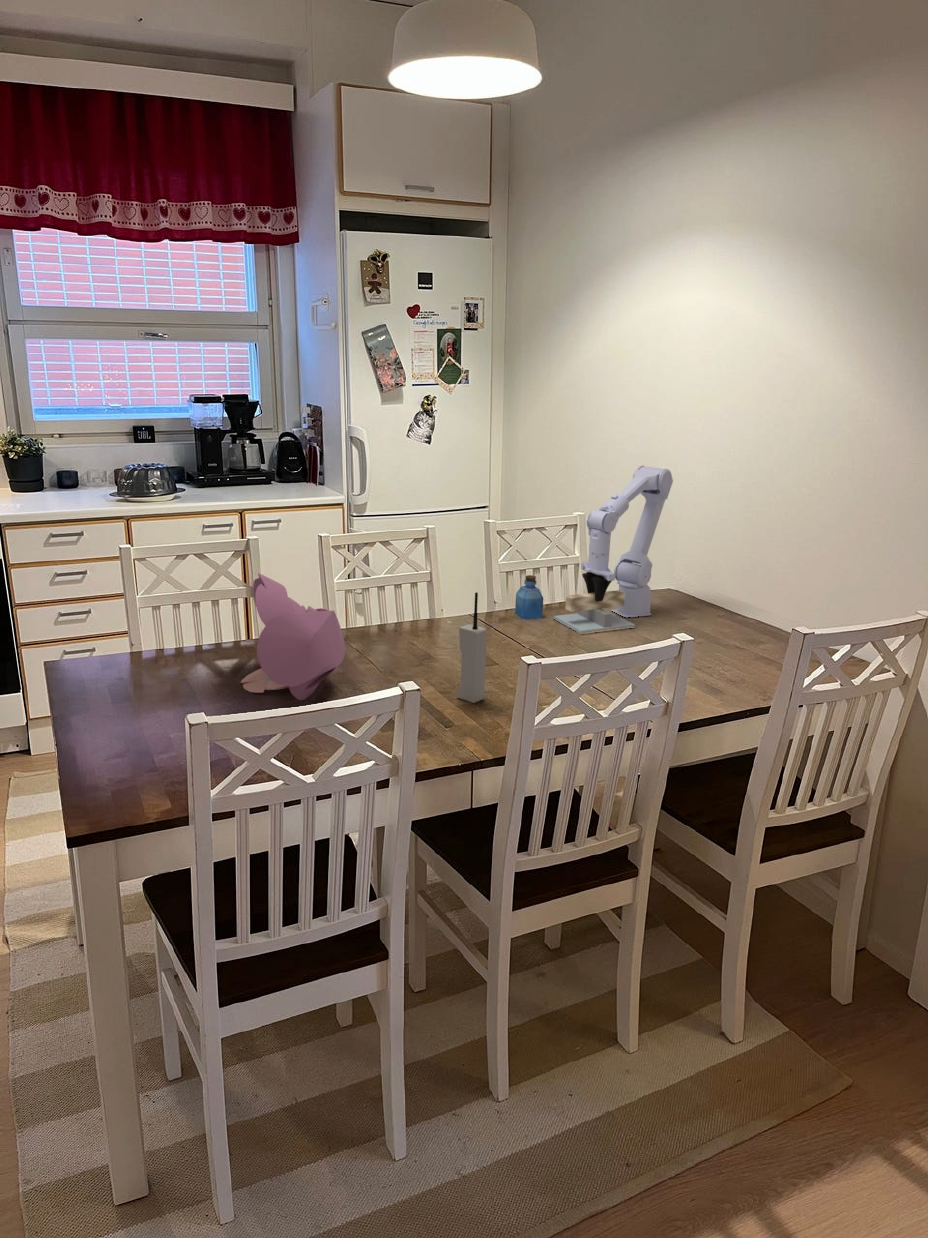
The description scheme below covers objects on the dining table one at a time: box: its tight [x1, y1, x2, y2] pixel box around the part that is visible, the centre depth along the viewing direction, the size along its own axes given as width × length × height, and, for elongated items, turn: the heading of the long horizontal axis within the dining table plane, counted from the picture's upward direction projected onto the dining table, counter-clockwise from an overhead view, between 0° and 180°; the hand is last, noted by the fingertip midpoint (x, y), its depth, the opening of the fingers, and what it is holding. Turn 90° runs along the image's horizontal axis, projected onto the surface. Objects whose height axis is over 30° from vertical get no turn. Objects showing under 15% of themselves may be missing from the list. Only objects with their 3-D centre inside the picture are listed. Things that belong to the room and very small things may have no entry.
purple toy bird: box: [240, 572, 346, 701], centre depth 210 cm, size 35×24×28 cm
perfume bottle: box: [514, 574, 544, 620], centre depth 270 cm, size 6×6×12 cm
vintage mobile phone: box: [456, 592, 488, 704], centre depth 204 cm, size 4×5×25 cm
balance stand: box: [553, 608, 636, 633], centre depth 265 cm, size 18×15×5 cm
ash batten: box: [564, 589, 625, 613], centre depth 263 cm, size 18×3×4 cm, turn 115°
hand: (595, 599), depth 263 cm, fingers closed on ash batten, 3 cm apart
